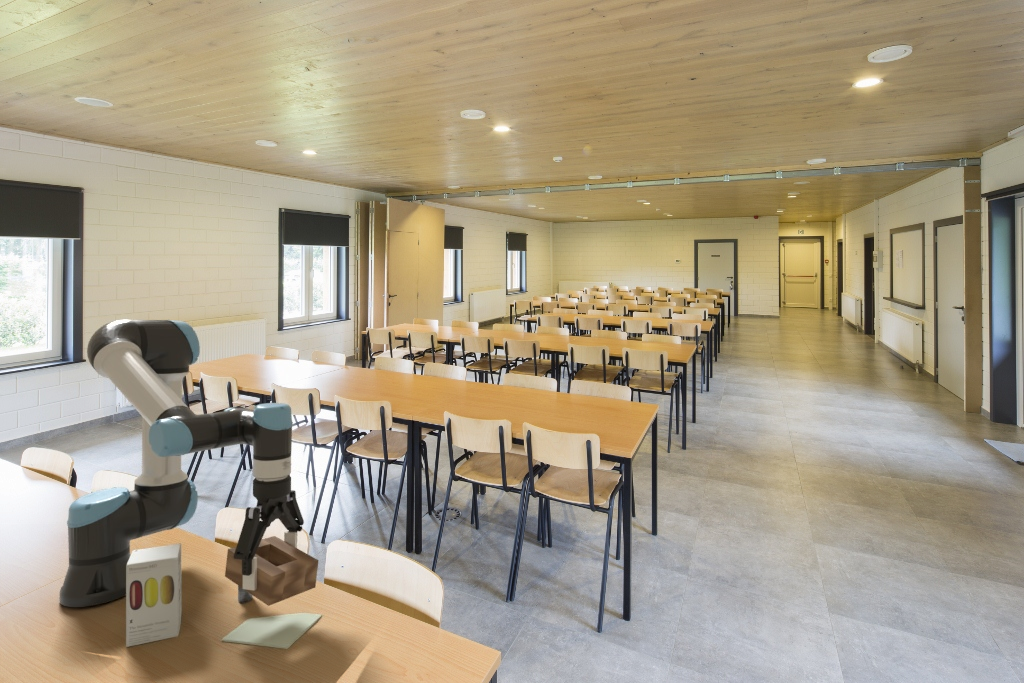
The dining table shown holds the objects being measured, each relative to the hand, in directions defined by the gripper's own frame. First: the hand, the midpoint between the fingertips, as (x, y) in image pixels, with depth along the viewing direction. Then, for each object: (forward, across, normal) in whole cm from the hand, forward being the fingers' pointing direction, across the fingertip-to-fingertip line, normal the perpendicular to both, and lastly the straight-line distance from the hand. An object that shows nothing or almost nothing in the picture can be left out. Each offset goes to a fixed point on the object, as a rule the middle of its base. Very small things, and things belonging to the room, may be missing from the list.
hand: (271, 574), depth 119 cm
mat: (+11, 0, -1) cm, 11 cm away
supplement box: (+12, -6, +23) cm, 27 cm away
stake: (+12, +8, +12) cm, 18 cm away
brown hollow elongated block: (+2, 0, 0) cm, 2 cm away
